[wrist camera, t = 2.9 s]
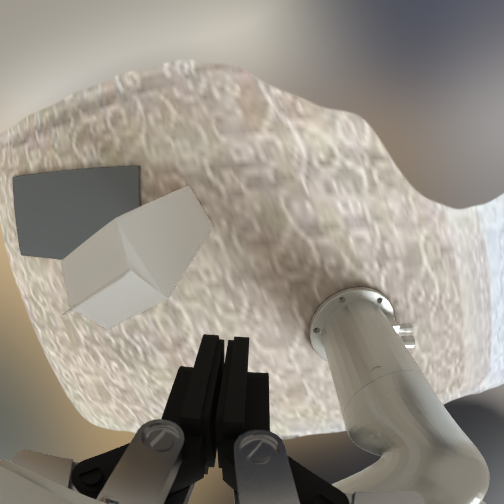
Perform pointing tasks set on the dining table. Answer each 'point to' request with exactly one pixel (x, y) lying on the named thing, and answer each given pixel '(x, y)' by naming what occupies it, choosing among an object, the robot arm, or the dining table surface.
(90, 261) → the milk
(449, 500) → the robot arm
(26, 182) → the mat
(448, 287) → the dining table surface
